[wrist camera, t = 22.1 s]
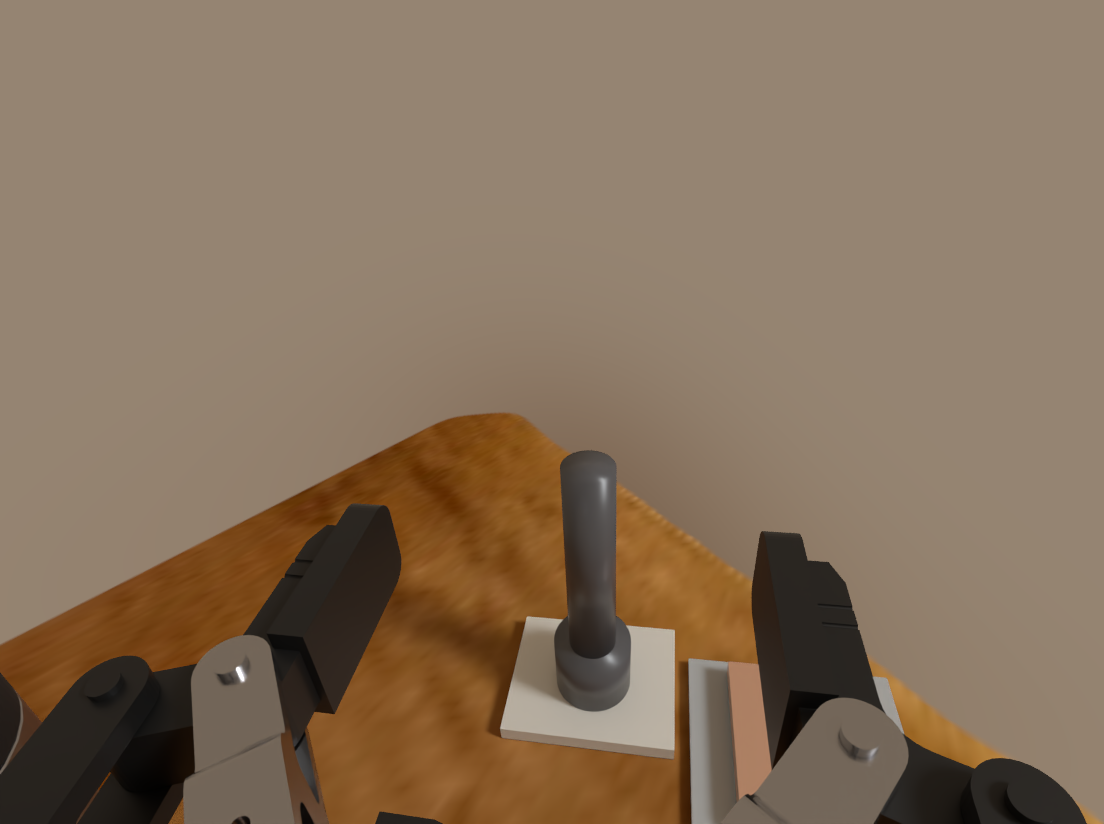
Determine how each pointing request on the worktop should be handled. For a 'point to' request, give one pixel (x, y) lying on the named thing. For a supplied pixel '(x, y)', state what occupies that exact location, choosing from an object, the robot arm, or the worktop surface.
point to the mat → (725, 739)
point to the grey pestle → (591, 588)
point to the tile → (747, 728)
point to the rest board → (622, 728)
